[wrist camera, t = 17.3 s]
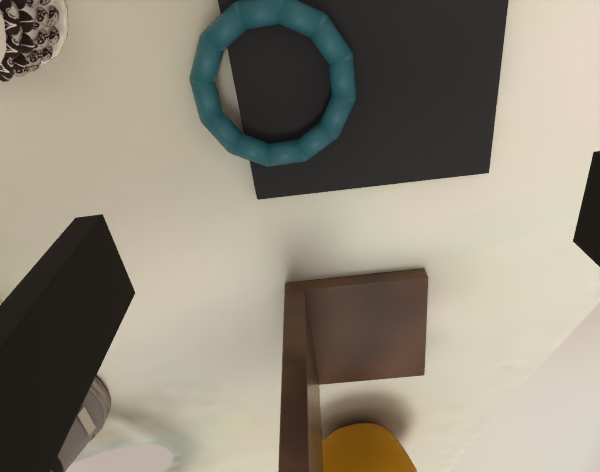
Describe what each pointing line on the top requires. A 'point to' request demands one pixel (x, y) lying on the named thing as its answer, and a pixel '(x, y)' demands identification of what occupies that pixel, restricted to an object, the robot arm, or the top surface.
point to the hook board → (344, 347)
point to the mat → (376, 93)
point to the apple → (364, 450)
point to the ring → (301, 18)
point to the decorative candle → (30, 34)
